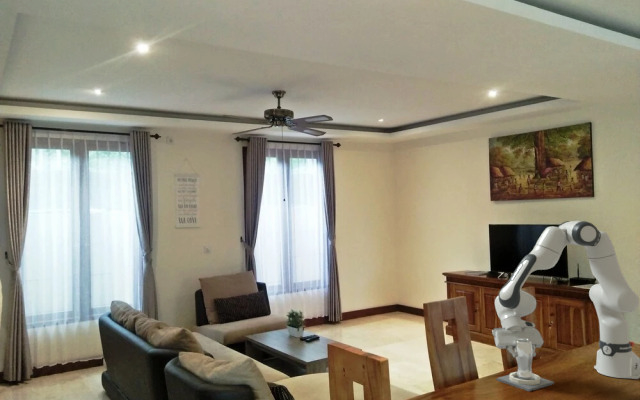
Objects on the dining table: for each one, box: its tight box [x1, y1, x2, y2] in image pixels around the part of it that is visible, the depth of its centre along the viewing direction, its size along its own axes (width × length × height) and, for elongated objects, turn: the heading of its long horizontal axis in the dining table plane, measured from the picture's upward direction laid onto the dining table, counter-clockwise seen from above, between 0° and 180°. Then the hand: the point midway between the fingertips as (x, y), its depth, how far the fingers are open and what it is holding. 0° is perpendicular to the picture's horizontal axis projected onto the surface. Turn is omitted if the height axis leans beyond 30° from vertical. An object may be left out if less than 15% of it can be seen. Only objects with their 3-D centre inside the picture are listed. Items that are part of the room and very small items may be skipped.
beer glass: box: [514, 338, 533, 378], centre depth 209 cm, size 7×7×15 cm
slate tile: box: [496, 371, 555, 392], centre depth 209 cm, size 16×16×2 cm
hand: (524, 356), depth 208 cm, fingers closed on beer glass, 7 cm apart
